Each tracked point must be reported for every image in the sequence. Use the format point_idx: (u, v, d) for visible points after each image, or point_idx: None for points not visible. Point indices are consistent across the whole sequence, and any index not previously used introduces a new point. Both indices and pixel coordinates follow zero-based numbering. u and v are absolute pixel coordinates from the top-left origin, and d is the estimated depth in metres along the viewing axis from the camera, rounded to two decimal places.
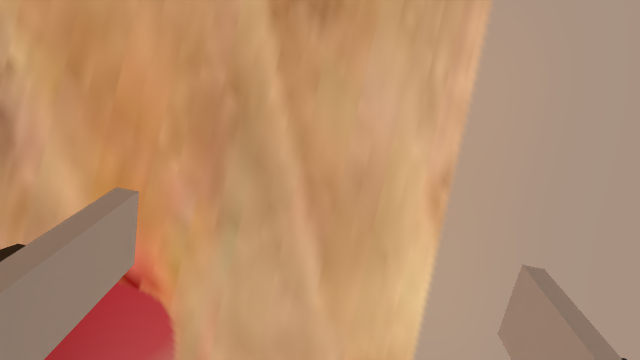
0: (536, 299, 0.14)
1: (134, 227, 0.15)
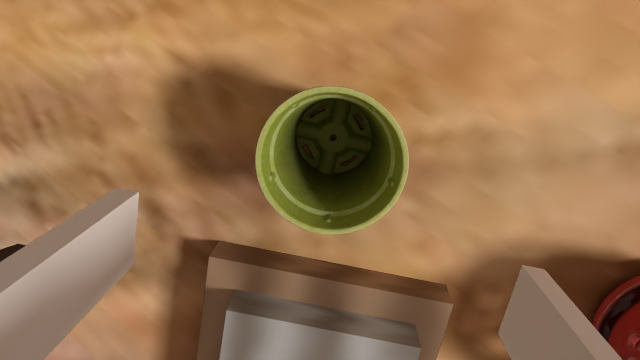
0: (536, 299, 0.14)
1: (135, 227, 0.15)
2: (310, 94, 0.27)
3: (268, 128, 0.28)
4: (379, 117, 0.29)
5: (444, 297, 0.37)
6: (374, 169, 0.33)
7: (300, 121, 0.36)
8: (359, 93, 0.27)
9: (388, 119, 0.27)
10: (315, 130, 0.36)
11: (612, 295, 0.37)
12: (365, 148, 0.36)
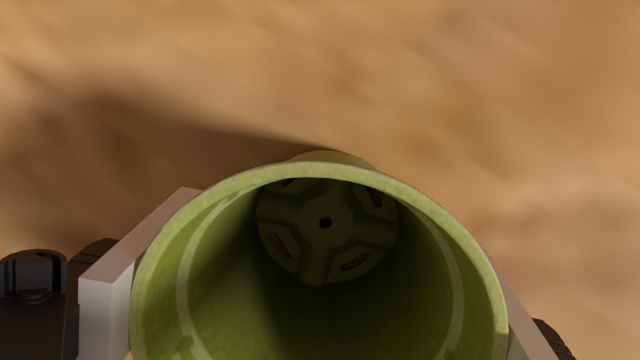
0: None
1: None
2: (257, 182, 0.10)
3: (154, 263, 0.11)
4: (430, 223, 0.12)
5: None
6: (407, 301, 0.16)
7: (263, 193, 0.19)
8: (387, 181, 0.10)
9: (461, 245, 0.10)
10: (292, 209, 0.19)
11: None
12: (385, 243, 0.19)
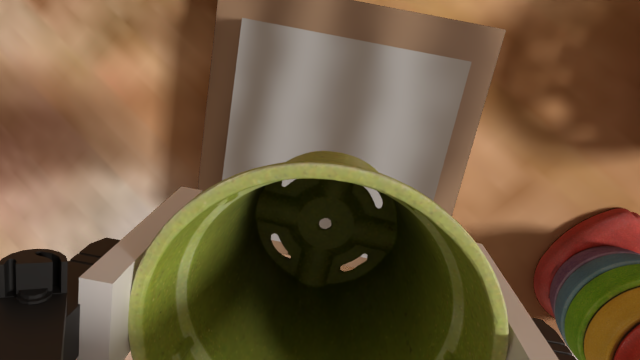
0: None
1: None
2: (257, 183, 0.10)
3: (154, 264, 0.11)
4: (430, 224, 0.12)
5: None
6: (407, 303, 0.16)
7: (263, 193, 0.19)
8: (387, 183, 0.10)
9: (461, 246, 0.10)
10: (291, 210, 0.19)
11: None
12: (385, 244, 0.19)
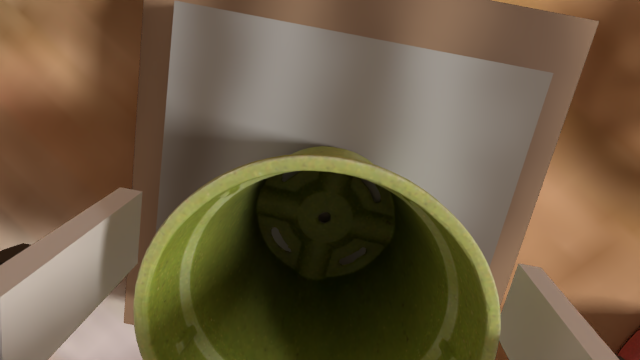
0: (532, 297, 0.14)
1: (138, 227, 0.16)
2: (258, 175, 0.11)
3: (159, 254, 0.11)
4: (425, 216, 0.12)
5: None
6: (404, 294, 0.17)
7: (264, 188, 0.19)
8: (383, 175, 0.10)
9: (455, 236, 0.11)
10: (291, 205, 0.20)
11: None
12: (383, 237, 0.20)
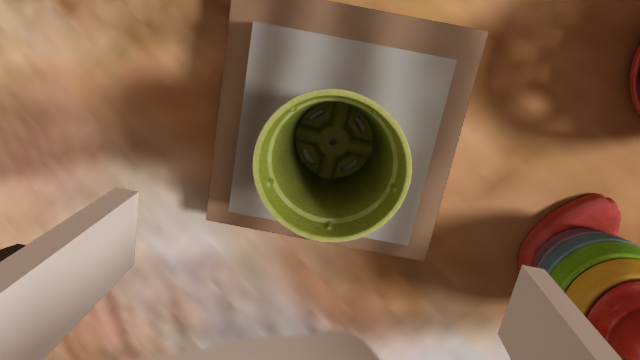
0: (536, 299, 0.14)
1: (134, 227, 0.15)
2: (309, 97, 0.26)
3: (266, 133, 0.27)
4: (381, 121, 0.28)
5: None
6: (376, 174, 0.32)
7: (299, 125, 0.35)
8: (360, 96, 0.26)
9: (390, 123, 0.26)
10: (315, 134, 0.35)
11: None
12: (366, 153, 0.35)
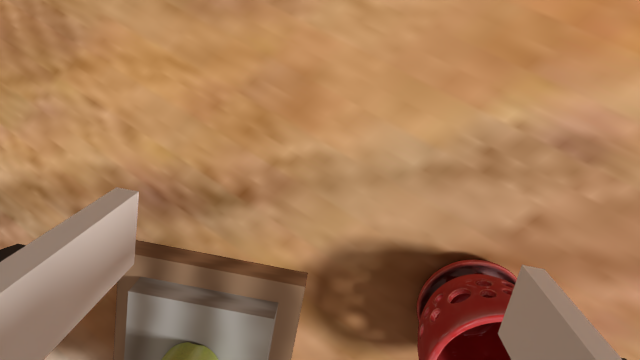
0: (536, 299, 0.14)
1: (135, 227, 0.15)
2: None
3: None
4: None
5: (300, 282, 0.49)
6: None
7: None
8: None
9: None
10: None
11: (428, 280, 0.49)
12: None
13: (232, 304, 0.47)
